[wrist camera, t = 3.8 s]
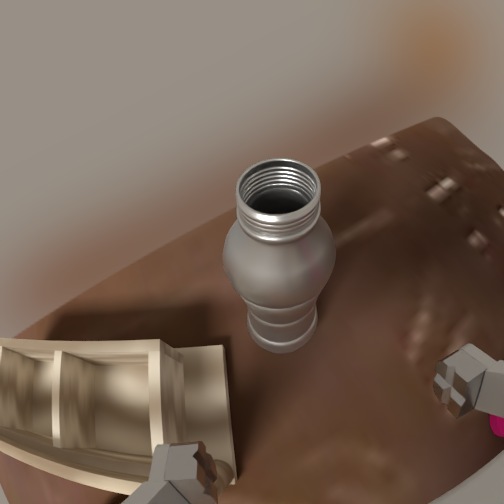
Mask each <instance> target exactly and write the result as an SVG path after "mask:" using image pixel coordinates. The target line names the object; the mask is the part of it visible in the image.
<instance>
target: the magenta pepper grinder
mask: <svg viewBox="0 0 504 504" xmlns="http://www.w3.org/2000/svg"><path fill="white" fill-rule="evenodd" d="M489 419H490V427H491V429H492V431H493V433H494V434H495V435H497V436H499V437H504V418H502V417H499V416H495V415H492V414H490V416H489Z"/></svg>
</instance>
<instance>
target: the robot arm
mask: <svg viewBox="0 0 504 504" xmlns="http://www.w3.org/2000/svg"><path fill="white" fill-rule="evenodd" d="M435 371H436V372H437V373H438V374H437V376H436V377H435V379H434V384H433V388H434V392H435V395H436V396H437V398H438V399H439V400H440V401H441V402H444V403H448V410H449V411H450V412H451V413H452V414H453V415H454V416H455V417H456V418H457V419H458V418H460V417H462V416H463V415H465V414H466V413H468V412H469V411H471V410H472V409H474V408H475V409H476V410H479V411H482V412H486V413H489V414H492V415H495V416H499V417H502V418H504V361H503V360H499V361H498V362H497V361H495V360H494V359H492V358H491V357H490V356H488V355H487V354H485V353H484V352H483V351H481V350H480V349H478V348H477V347H475V346H474V345H473V344H469V343H468V344H466V345H465V346H463V347H462V348H460V349H458V350H456V351H455V352H453V353H451V354H450V355H448V356H446V357H445V358H443V359H441V360H440V361H438V362H437V364H436V368H435ZM216 480H217V470H216V465H215V462H214V460H213V458H212V456H211V455H210V454H208V453H206V446H205V445H204V443H203V442H202V441H193V442H183V443H171V444H158V445H157V446H156V447H155V449H154V454H153V459H152V464H151V469H150V474H149V479H148V481H146V482H143V483H142V484H141V485H140V486H139V487H138V488H137V489H136V490H135V491H134V492H133V493H132V494H131V495H130V496H129V497H128V498H127V499H126V500H124V501H123V502H122V503H121V504H218V489H217V487H216V486H215V485H214V482H215V481H216ZM428 504H504V450H503V451H502V452H500V453H499V454H498V455H497V456H496V457H495V458H493V459H492V460H491V461H490V462H488V463H487V464H486V465H485V466H483V467H482V468H481V469H479V470H478V471H477V472H475V473H474V474H473V475H471V476H470V477H469V478H467V479H466V480H464V481H463V482H462V483H460V484H459V485H457V486H456V487H454V488H453V489H451V490H449V491H448V492H446V493H445V494H443V495H441V496H440V497H438V498H437V499H435V500H433V501H431V502H430V503H428Z"/></svg>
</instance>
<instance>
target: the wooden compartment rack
mask: <svg viewBox="0 0 504 504" xmlns="http://www.w3.org/2000/svg"><path fill="white" fill-rule="evenodd" d="M193 441H202V442H203V443H204V445H205V446H206V453H208V454H210V455H211V456H212V458H213V460H214V462H215V465H216V470H217V480H216V481H215V482H214V485H215V486H216V487H217V489H218V498H219V496H220V495H221V494H222V493H223V492H224V490H225V489H226V488H227V487H228V486H229V484H236V482H237V472H236V463H235V454H234V445H233V435H232V425H231V414H230V403H229V392H228V380H227V368H226V355H225V348H224V346H223V345H214V346H201V347H188V348H172V347H170V346H169V345H168V344H166V343H165V342H163V341H162V340H160V339H150V340H125V341H48V340H25V339H9V338H0V451H2V452H4V453H6V454H8V455H10V456H12V457H14V458H16V459H18V460H20V461H22V462H25V463H27V464H29V465H31V466H34V467H36V468H39V469H41V470H44V471H46V472H49V473H52V474H54V475H57V476H60V477H63V478H66V479H69V480H72V481H75V482H78V483H81V484H85V485H88V486H92V487H96V488H100V489H104V490H108V491H112V492H116V493H121V494H126V495H131V494H132V493H133V492H134V491H135V490H136V489H137V488H138V487H139V486H140V485H141V484H142V483H143V482H146V481H148V479H149V474H150V469H151V464H152V459H153V454H154V449H155V447H156V446H157V445H158V444H171V443H183V442H193Z"/></svg>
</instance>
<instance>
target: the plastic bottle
mask: <svg viewBox="0 0 504 504" xmlns="http://www.w3.org/2000/svg"><path fill="white" fill-rule="evenodd" d="M320 195H321V185H320V180H319V177H318V175H317V174H316V172H315V171H314V170H313V169H312V168H311V167H310V166H308V165H306V164H305V163H303V162H301V161H298V160H294V159H289V158H272V159H267V160H263V161H260V162H258V163H255V164H254V165H252V166H250V167H249V168H247V169H246V170H245V171H244V172H243V173H242V174H241V176H240V177H239V179H238V181H237V184H236V200H237V218H238V219H237V220H236V222H235V223H234V224H233V226H232V227H231V228H230V230H229V232H228V234H227V237H226V241H225V245H224V251H223V265H224V269H225V273H226V275H227V277H228V279H229V281H230V282H231V284H232V286H233V288H234V289H235V290H236V291H237V292H238V294H239V295H240V296H241V297H242V298H243V300H244V301H245V303H246V305H247V307H248V314H247V327H248V330H249V333H250V335H251V337H252V339H253V340H254V341H255V342H256V344H258V345H259V346H260V347H262V348H263V349H265V350H268V351H270V352H273V353H289V352H292V351H295V350H297V349H299V348H300V347H302V346H303V345H304V344H306V343H307V342H308V341H309V340H310V338H311V337H312V336H313V334H314V332H315V330H316V326H317V321H318V314H317V307H316V301H317V298H318V296H319V294H320V293H321V291H322V290H323V288H324V287H325V285H326V284H327V282H328V280H329V278H330V276H331V273H332V271H333V269H334V265H335V261H336V246H335V242H334V238H333V235H332V231H331V229H330V227H329V226H328V224H327V222H326V221H325V220H324V219H323V218H322V216H321V215H320V211H321V203H320Z"/></svg>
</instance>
